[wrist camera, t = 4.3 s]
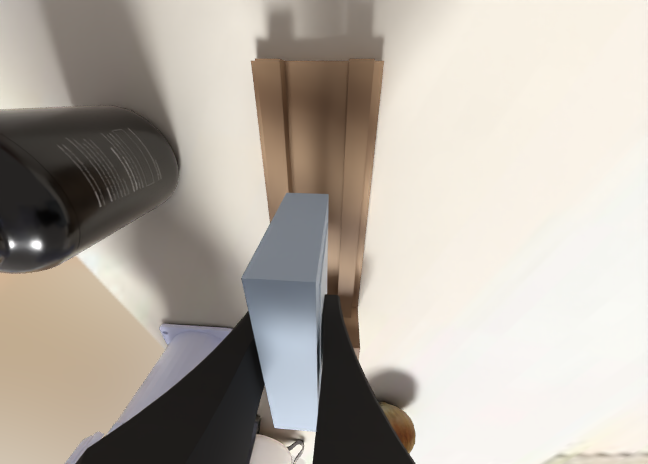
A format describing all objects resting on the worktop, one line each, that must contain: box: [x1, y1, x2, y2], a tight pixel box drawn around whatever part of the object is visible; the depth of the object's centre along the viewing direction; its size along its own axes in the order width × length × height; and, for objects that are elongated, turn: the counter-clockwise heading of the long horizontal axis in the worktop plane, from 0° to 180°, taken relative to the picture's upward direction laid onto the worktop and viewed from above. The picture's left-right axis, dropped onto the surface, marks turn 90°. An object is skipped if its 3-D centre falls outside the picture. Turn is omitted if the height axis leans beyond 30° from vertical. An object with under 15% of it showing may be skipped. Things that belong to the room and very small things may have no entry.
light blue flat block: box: [241, 193, 329, 432], centre depth 11 cm, size 9×2×6 cm, turn 0°
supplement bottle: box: [0, 105, 179, 274], centre depth 12 cm, size 7×7×12 cm
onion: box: [379, 401, 415, 454], centre depth 29 cm, size 8×8×8 cm
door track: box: [251, 59, 384, 360], centre depth 17 cm, size 20×7×5 cm, turn 0°
